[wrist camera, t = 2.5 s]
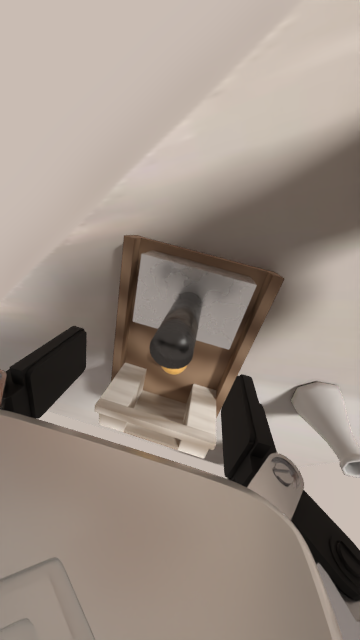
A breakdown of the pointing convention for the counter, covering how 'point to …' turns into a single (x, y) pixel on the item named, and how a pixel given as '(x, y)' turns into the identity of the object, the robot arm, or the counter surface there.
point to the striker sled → (188, 305)
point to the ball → (173, 370)
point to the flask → (329, 421)
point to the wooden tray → (198, 377)
